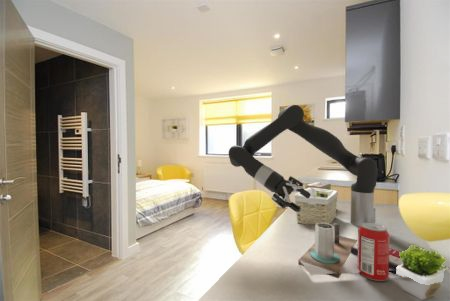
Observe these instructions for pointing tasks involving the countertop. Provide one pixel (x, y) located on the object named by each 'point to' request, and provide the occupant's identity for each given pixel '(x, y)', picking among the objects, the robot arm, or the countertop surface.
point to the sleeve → (324, 240)
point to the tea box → (320, 186)
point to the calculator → (393, 258)
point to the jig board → (340, 254)
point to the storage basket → (316, 206)
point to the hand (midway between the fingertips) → (304, 203)
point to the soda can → (373, 251)
